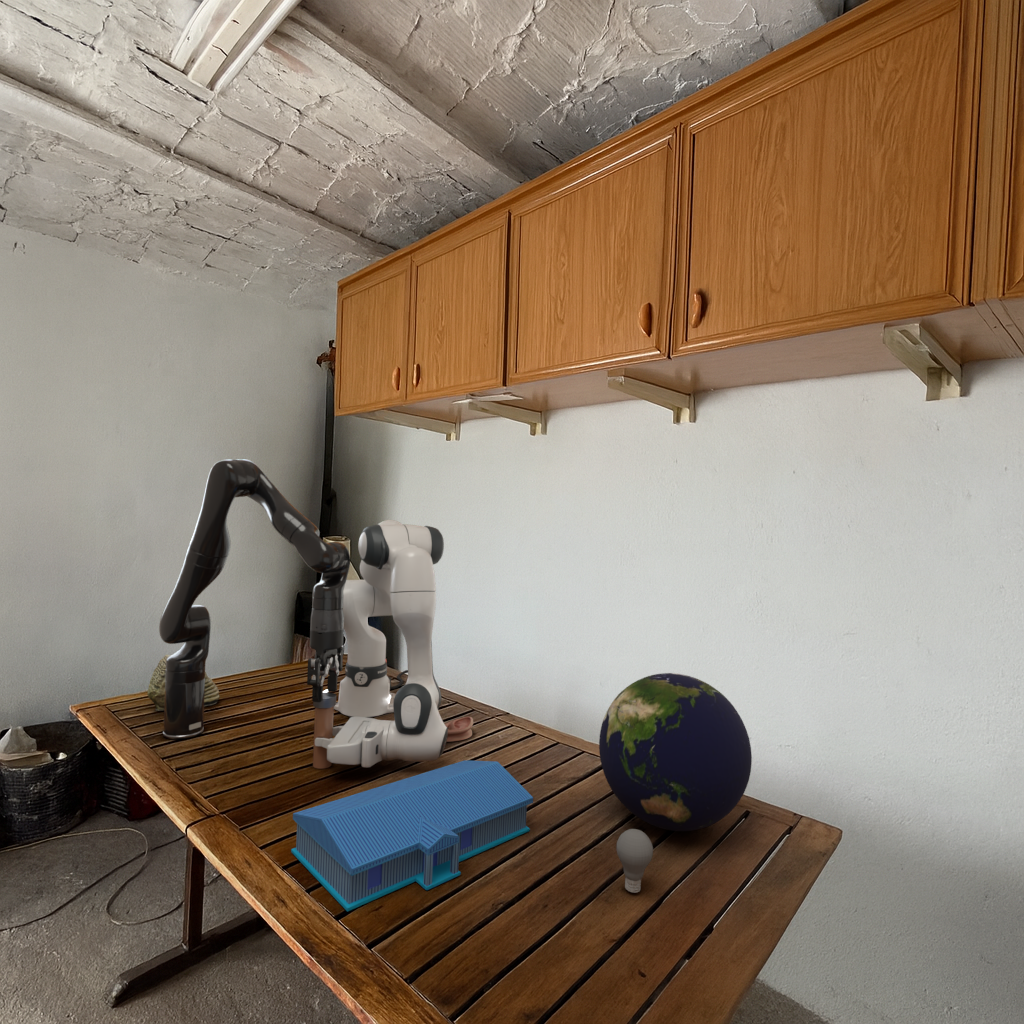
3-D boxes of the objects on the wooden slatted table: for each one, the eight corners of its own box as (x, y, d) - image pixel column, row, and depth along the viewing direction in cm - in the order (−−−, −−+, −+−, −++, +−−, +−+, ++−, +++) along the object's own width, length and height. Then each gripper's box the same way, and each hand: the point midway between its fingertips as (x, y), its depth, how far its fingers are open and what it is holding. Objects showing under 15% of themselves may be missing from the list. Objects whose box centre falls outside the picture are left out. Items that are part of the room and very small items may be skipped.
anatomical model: (417, 724, 167) (431, 710, 178) (416, 739, 167) (430, 724, 178) (465, 730, 164) (477, 715, 176) (465, 745, 165) (476, 730, 176)
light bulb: (610, 879, 108) (613, 822, 108) (644, 879, 109) (647, 822, 109) (619, 902, 102) (622, 840, 102) (655, 901, 103) (658, 840, 103)
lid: (333, 700, 153) (333, 691, 153) (338, 707, 148) (338, 697, 148) (311, 702, 150) (311, 693, 150) (315, 709, 146) (315, 699, 146)
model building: (357, 922, 95) (360, 856, 95) (289, 850, 113) (292, 795, 113) (542, 837, 121) (544, 785, 121) (463, 790, 139) (465, 745, 139)
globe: (578, 839, 121) (585, 683, 120) (614, 778, 149) (620, 651, 148) (744, 881, 110) (753, 709, 109) (749, 806, 137) (756, 669, 137)
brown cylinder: (329, 760, 152) (332, 693, 152) (333, 767, 148) (336, 699, 148) (311, 762, 150) (313, 695, 150) (314, 770, 146) (317, 701, 146)
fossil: (144, 707, 182) (145, 655, 182) (212, 696, 194) (213, 647, 194) (151, 716, 175) (153, 662, 175) (221, 703, 188) (223, 653, 188)
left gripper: (325, 620, 156) (323, 686, 157) (297, 632, 142) (295, 704, 142) (354, 622, 155) (352, 689, 156) (329, 634, 141) (326, 707, 141)
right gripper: (387, 711, 159) (333, 708, 160) (367, 742, 139) (305, 739, 139) (386, 736, 159) (332, 733, 160) (366, 771, 139) (304, 767, 139)
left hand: (324, 696), depth 149 cm, fingers open, 7 cm apart
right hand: (319, 736), depth 149 cm, fingers closed on brown cylinder, 4 cm apart
